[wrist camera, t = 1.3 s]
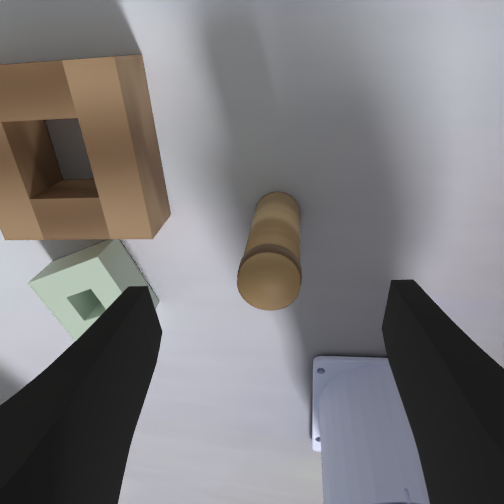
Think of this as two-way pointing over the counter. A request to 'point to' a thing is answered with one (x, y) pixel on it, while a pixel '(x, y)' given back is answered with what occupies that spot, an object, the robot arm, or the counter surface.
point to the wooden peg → (272, 254)
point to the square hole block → (97, 146)
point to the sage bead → (87, 284)
